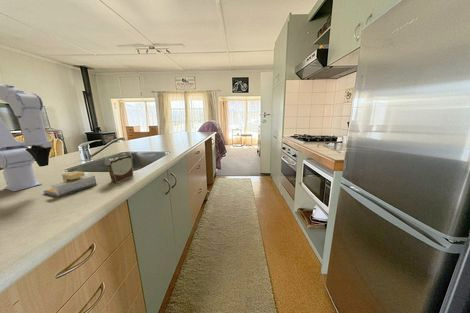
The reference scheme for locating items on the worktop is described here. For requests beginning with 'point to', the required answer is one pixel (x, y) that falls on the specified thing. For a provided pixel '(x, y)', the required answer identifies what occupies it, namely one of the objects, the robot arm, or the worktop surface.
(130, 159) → the food container
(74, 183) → the grey and orange tray
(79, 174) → the clip nut
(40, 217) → the worktop surface
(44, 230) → the worktop surface
